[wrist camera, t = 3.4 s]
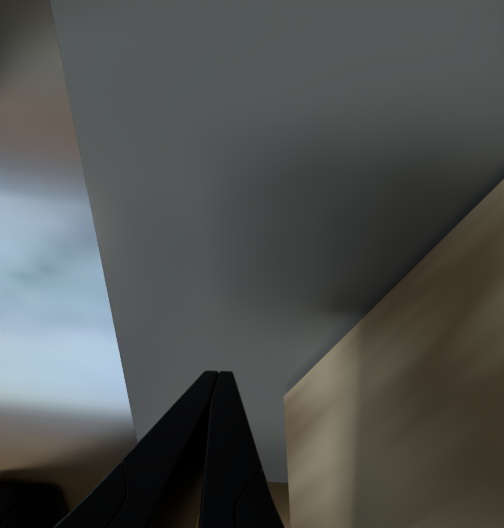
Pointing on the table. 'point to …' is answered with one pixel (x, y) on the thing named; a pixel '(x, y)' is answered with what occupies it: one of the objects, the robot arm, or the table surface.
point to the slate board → (272, 174)
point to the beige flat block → (411, 398)
